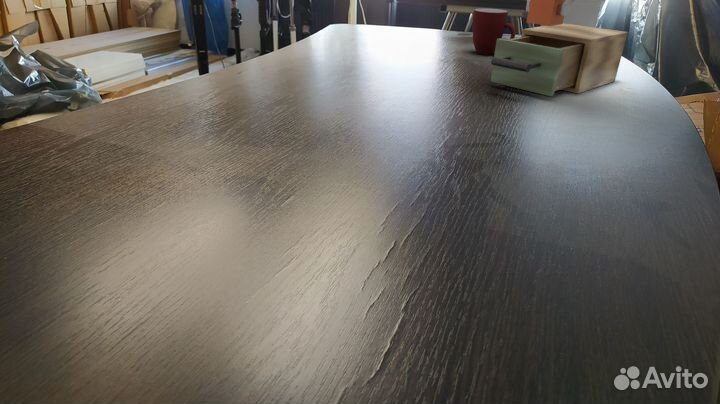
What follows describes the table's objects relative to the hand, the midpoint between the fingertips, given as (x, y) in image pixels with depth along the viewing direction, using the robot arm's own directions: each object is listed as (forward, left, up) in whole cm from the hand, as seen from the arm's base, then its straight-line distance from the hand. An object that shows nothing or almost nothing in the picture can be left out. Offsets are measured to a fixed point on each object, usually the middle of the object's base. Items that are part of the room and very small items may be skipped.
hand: (546, 13), depth 87 cm
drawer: (0, 0, -12) cm, 13 cm away
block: (0, 0, -2) cm, 2 cm away
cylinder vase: (+14, -37, -14) cm, 42 cm away
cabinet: (0, -12, -13) cm, 18 cm away
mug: (+25, -22, -14) cm, 36 cm away
